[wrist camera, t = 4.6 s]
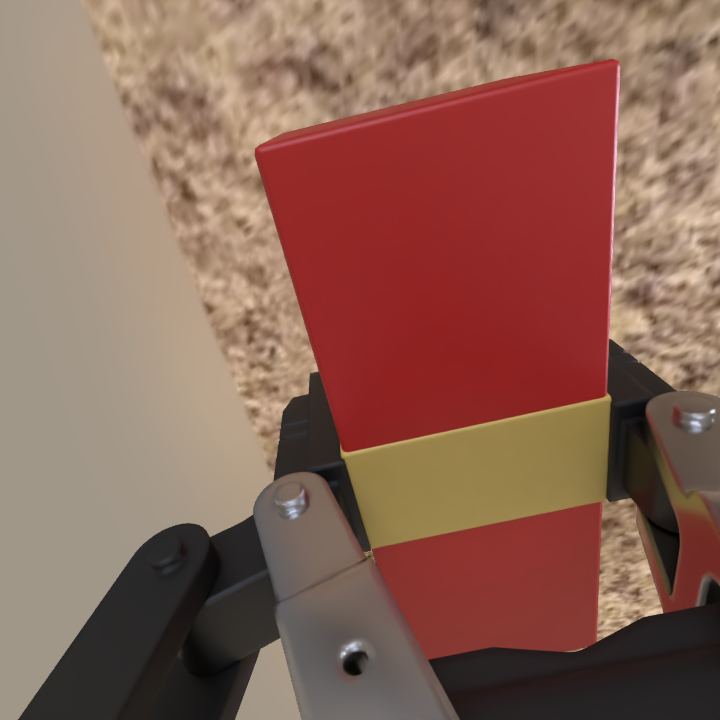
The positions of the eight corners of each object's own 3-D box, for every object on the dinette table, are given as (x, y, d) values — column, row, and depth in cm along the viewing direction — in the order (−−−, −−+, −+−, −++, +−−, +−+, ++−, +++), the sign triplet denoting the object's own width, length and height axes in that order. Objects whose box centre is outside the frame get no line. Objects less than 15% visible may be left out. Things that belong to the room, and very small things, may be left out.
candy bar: (276, 134, 9) (247, 149, 6) (508, 77, 9) (631, 54, 5) (388, 546, 15) (409, 686, 11) (532, 516, 15) (601, 648, 11)
